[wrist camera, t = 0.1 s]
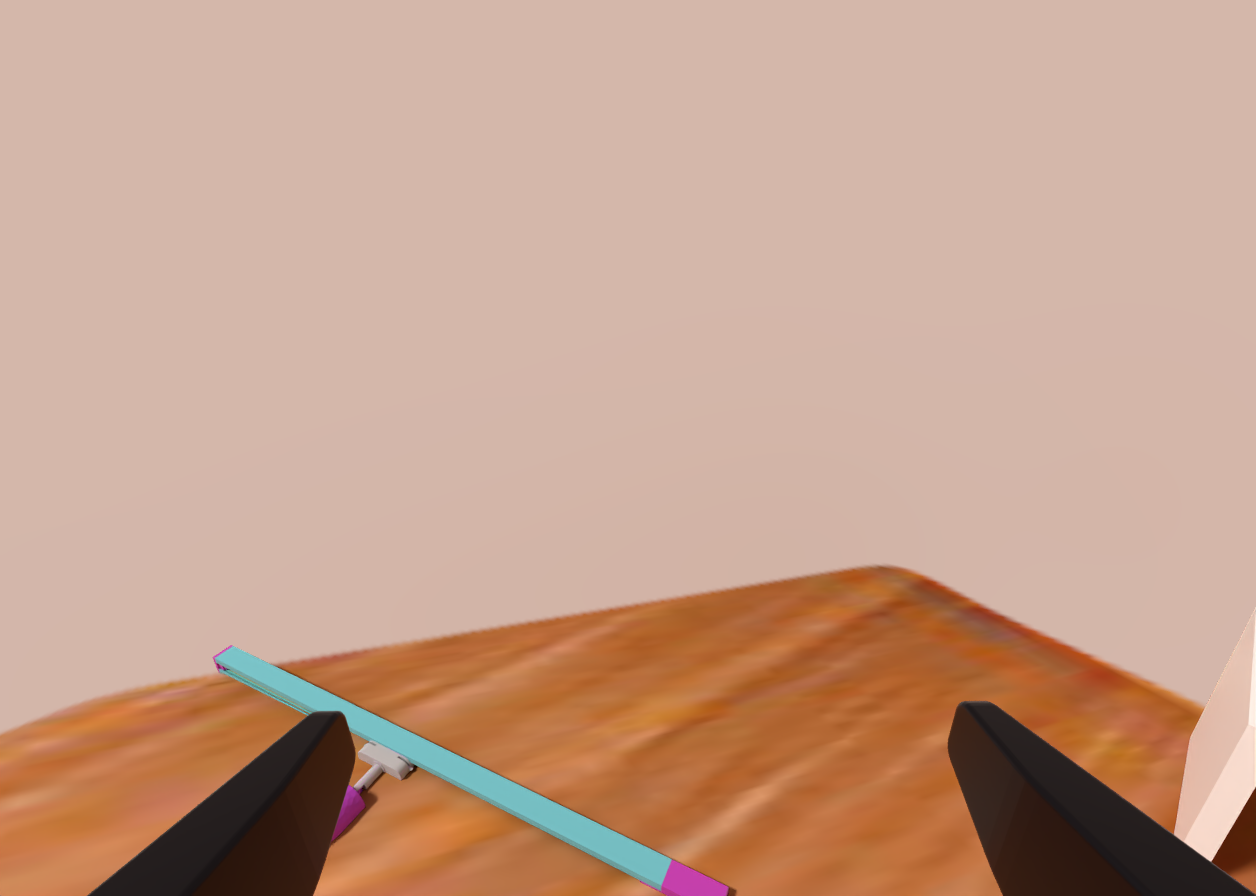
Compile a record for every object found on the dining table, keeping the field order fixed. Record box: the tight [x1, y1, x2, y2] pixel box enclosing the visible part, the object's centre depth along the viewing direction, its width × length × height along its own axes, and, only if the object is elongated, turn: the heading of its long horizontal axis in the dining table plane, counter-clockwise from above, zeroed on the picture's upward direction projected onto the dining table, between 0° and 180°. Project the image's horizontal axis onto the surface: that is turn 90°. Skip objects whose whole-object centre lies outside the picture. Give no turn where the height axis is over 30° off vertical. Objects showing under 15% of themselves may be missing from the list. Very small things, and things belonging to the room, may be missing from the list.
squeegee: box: [213, 645, 729, 896], centre depth 24 cm, size 29×2×10 cm
